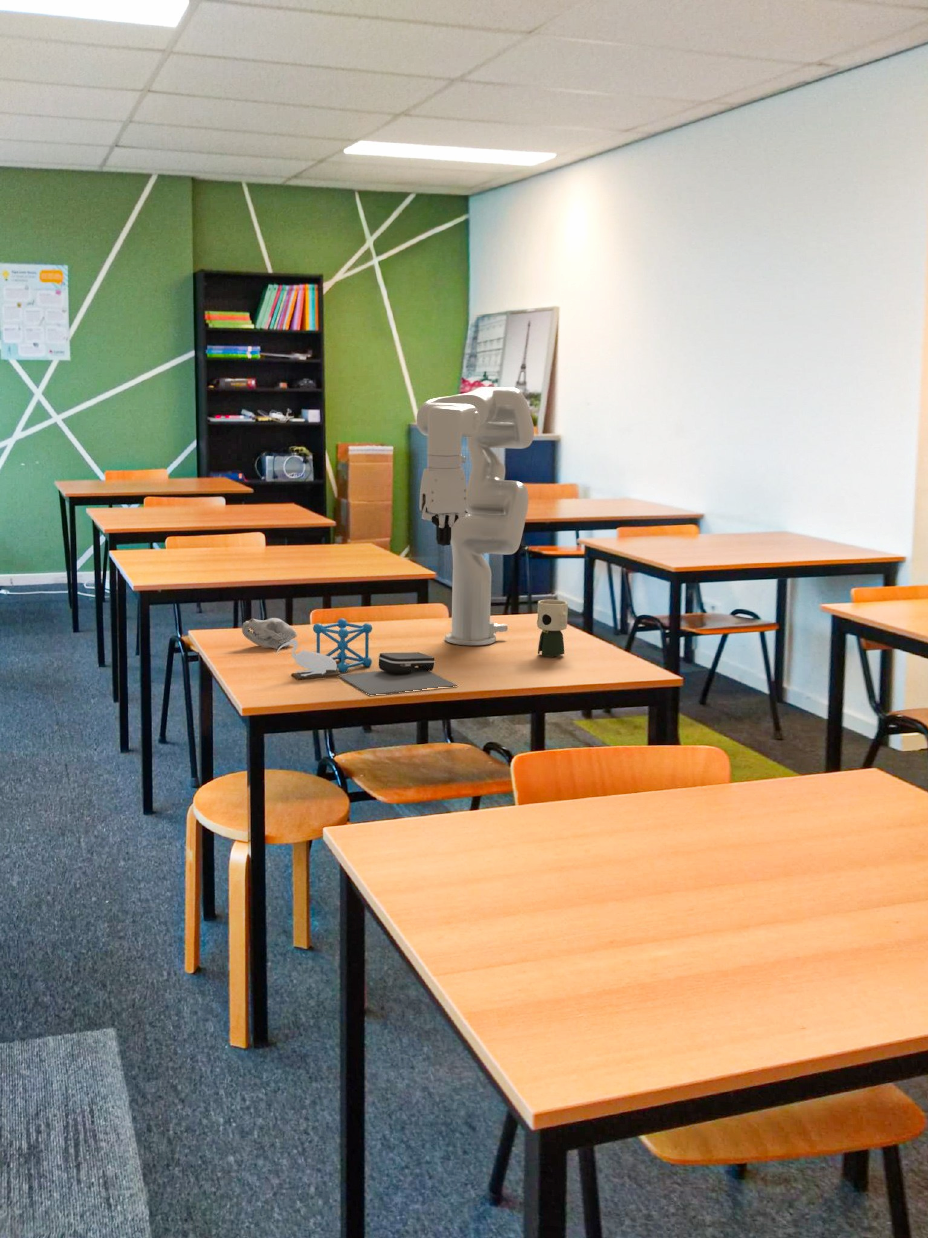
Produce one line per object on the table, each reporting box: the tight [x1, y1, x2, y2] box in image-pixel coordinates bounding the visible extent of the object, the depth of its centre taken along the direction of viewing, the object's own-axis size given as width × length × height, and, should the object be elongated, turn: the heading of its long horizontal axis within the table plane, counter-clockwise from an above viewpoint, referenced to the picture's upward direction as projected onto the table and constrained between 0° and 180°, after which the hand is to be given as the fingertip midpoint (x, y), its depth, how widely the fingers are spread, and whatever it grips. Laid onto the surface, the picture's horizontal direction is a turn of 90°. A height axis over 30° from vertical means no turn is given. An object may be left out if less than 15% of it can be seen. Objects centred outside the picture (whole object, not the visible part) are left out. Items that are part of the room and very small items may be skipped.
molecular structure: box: [312, 617, 373, 674], centre depth 280 cm, size 10×10×10 cm
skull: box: [241, 617, 298, 650], centre depth 298 cm, size 8×9×12 cm
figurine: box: [275, 639, 342, 682], centre depth 270 cm, size 14×4×9 cm, turn 119°
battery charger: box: [378, 651, 436, 674], centre depth 276 cm, size 7×4×11 cm
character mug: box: [536, 599, 569, 658], centre depth 295 cm, size 11×7×13 cm, turn 32°
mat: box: [337, 666, 458, 696], centre depth 268 cm, size 20×18×1 cm
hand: (443, 544), depth 281 cm, fingers closed
